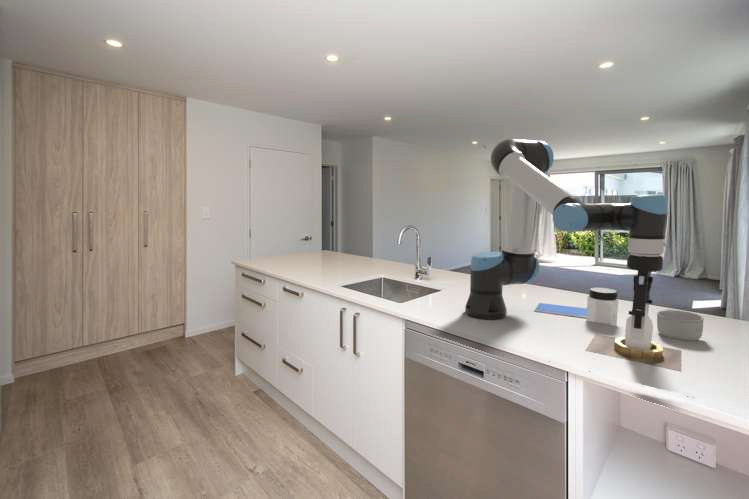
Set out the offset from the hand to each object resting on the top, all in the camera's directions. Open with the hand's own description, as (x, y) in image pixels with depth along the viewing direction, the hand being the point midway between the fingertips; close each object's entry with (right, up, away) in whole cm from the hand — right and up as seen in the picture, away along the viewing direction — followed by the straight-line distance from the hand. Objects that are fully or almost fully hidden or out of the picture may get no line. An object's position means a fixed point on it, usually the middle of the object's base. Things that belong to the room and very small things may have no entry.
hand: (639, 332), depth 96 cm
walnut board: (-1, -7, +1) cm, 7 cm away
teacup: (+22, -5, +14) cm, 26 cm away
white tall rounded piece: (0, -5, +1) cm, 5 cm away
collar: (0, -5, +1) cm, 5 cm away
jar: (+7, -4, +27) cm, 29 cm away
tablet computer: (+2, -2, +43) cm, 44 cm away
